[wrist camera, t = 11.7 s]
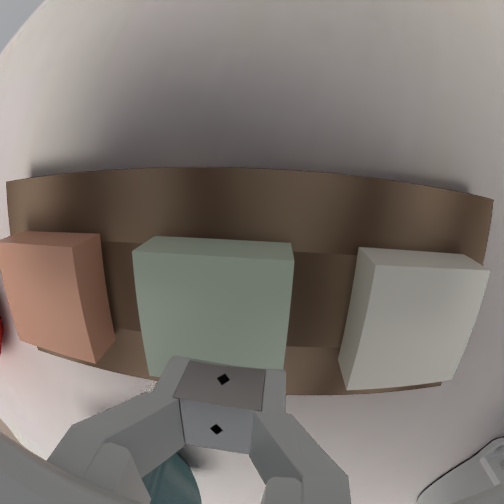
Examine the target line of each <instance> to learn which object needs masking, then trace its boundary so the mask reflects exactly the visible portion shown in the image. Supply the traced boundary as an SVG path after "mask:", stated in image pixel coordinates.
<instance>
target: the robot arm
mask: <svg viewBox="0 0 504 504" xmlns="http://www.w3.org/2000/svg"><path fill="white" fill-rule="evenodd" d="M285 410H286V371H285V370H282V369H267V368H266V371H265V369H262V368H252V367H243V366H235V365H228V364H222V363H216V362H210V361H204V360H199V359H193V358H192V359H191V358H187V357H182V356H177V355H174V356H173V357H171V358H170V360H169V362H168V364H167V366H166V367H165V369H164V371H163V373H162V375H161V376H160V378H159V380H158V382H157V384H156V385H155V387H154V389H153V391H152V393H150V392H144V393H142V394H140V395H138V396H136V397H134V398H132V399H130V400H128V401H125V402H123V403H121V404H119V405H117V406H115V407H112V408H110V409H108V410H106V411H103V412H101V413H99V414H97V415H94V416H92V417H90V418H87V419H85V420H83V421H80V422H78V423H76V424H73V425H72V426H71V427H70V428H69V430H68V431H67V433H66V434H65V435H64V437H63V438H62V440H61V441H60V442H59V444H58V445H57V447H56V448H55V449H54V451H53V452H52V454H51V455H50V457H49V458H48V460H47V461H46V460H44V459H43V458H41V457H39V456H37V455H36V454H34V453H33V452H31V451H29V450H28V449H26V448H25V447H23V446H22V445H20V444H18V443H17V442H16V441H14V440H12V439H11V438H10V437H8V436H7V435H6V434H4V433H3V432H1V431H0V504H150V501H151V497H150V495H149V493H148V491H147V489H146V487H145V485H144V483H143V481H142V479H141V478H142V477H144V476H145V475H147V474H148V473H149V472H151V471H152V470H154V469H155V468H156V467H158V466H159V465H160V464H162V463H163V462H164V461H166V460H167V459H168V458H170V457H171V456H172V455H173V454H175V453H176V452H177V451H179V450H180V449H181V448H182V447H184V446H185V444H188V445H194V446H200V447H206V448H212V449H219V450H224V451H230V452H237V453H243V454H249V456H250V458H251V460H252V462H253V464H254V465H255V467H256V469H257V471H258V473H259V474H260V476H261V478H262V479H263V481H264V483H265V485H266V487H265V491H264V494H263V498H262V501H261V504H351V497H350V489H349V481H348V475H347V474H346V473H345V472H344V471H343V470H342V469H341V468H340V467H339V466H338V465H337V464H336V463H335V462H334V461H333V460H332V459H331V458H330V457H329V456H328V454H327V453H326V452H325V451H324V450H323V449H322V448H321V447H320V446H319V445H318V444H317V442H316V441H315V440H314V439H313V438H312V437H311V436H310V435H309V434H308V433H307V431H306V430H305V429H304V428H303V427H302V426H301V425H300V423H299V422H298V421H297V420H296V419H295V418H294V417H293V415H292V414H285ZM417 503H418V504H504V437H503V438H499V439H496V440H494V441H492V442H491V443H490V444H488V445H487V446H486V447H485V448H483V449H482V450H481V451H480V452H479V453H478V454H476V455H475V456H474V457H472V458H471V459H469V460H468V461H466V462H465V463H463V464H461V465H460V466H458V467H457V468H455V469H454V470H452V471H450V472H449V473H447V474H446V475H445V476H443V477H442V478H440V479H439V480H437V481H436V482H435V483H433V484H432V485H431V486H430V487H428V488H427V489H426V490H425V491H424V492H423V493H422V494H421V495H420V496H419V498H418V500H417Z"/></svg>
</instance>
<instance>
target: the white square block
mask: <svg viewBox="0 0 504 504" xmlns="http://www.w3.org/2000/svg"><path fill="white" fill-rule="evenodd" d="M490 271H491V270H489V269H488V268H486V267H484V266H483V265H481V264H479V263H478V262H476V261H474V260H473V259H471V258H469V257H468V256H466V255H464V254H453V253H439V252H426V251H412V250H397V249H382V248H367V247H359V248H358V255H357V262H356V269H355V275H354V281H353V287H352V293H351V299H350V304H349V310H348V315H347V320H346V325H345V330H344V335H343V339H342V344H341V348H340V353H339V357H338V362H339V365H340V369H341V373H342V376H343V380H344V384H345V387H346V390H365V389H380V388H392V387H403V386H412V385H420V384H428V383H435V382H442V381H448V380H452V378H453V376H454V374H455V372H456V369H457V367H458V365H459V363H460V360H461V358H462V356H463V353H464V351H465V348H466V346H467V343H468V341H469V338H470V335H471V333H472V330H473V327H474V324H475V322H476V319H477V316H478V313H479V310H480V306H481V303H482V300H483V297H484V293H485V290H486V286H487V283H488V279H489V275H490Z"/></svg>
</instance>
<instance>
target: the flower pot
mask: <svg viewBox="0 0 504 504" xmlns="http://www.w3.org/2000/svg"><path fill="white" fill-rule="evenodd" d="M141 479H142V481H143V483H144V485H145V487H146V489H147V491H148V493H149V495H150V497H151V501H150V504H201V497H200V492H199V489H198V486H197V483H196V480H195V478H194V476H193V473H192V471H191V469H190V467H189V466H188V465H187V464H186V463H185V462H184V460H183V459H182V458H181V457H180V456H179V455H178V454H177V452H176V453H175V454H173V455H172V456H171V457H170V458H168V459H167V460H166V461H164V462H163V463H162V464H160V465H159V466H158V467H156V468H155V469H154V470H152V471H151V472H149V473H148V474H147V475H145V476H144V477H142V478H141Z"/></svg>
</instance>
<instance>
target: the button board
mask: <svg viewBox="0 0 504 504" xmlns="http://www.w3.org/2000/svg"><path fill="white" fill-rule="evenodd" d="M6 189H7V205H8V216H9V225H10V234H11V236H12V235H14V234H17V233H19V232H22V231H38V232H67V233H94V234H100V239H101V250H102V259H103V267H104V275H105V282H106V289H107V296H108V302H109V308H110V313H111V319H112V324H113V329H114V334H115V339H116V340H115V341H114V342H113V343H112V345H111V346H110V347H109V348H108V350H107V351H106V352H105V353H104V354H103V356H102V357H101V358H100V359H99V361H98V362H97V363H96V364H95V363H91V362H87V361H83V360H80V359H76V358H73V357H69V356H66V355H63V354H59V353H56V352H53V351H50V350H47V349H44V348H41V347H38V346H37V348H38V350H40V351H43V352H46V353H49V354H52V355H55V356H58V357H62V358H65V359H68V360H71V361H75V362H78V363H82V364H85V365H89V366H93V367H96V368H100V369H104V370H108V371H112V372H117V373H121V374H125V375H130V376H135V377H139V378H144V379H150V380H155V381H158V380H159V378H160V377H155V376H150V375H149V371H148V366H147V361H146V355H145V350H144V344H143V338H142V332H141V326H140V319H139V312H138V304H137V297H136V288H135V279H134V269H133V258H132V251H133V250H134V249H136V248H137V247H139V246H140V245H142V244H143V243H145V242H146V241H148V240H149V239H151V238H152V237H154V236H168V237H189V238H209V239H229V240H248V241H266V242H284V243H291V246H292V251H293V256H294V273H293V284H292V294H291V304H290V314H289V323H288V332H287V341H286V350H285V358H284V366H283V370H285V371H286V395H349V394H368V393H382V392H393V391H403V390H412V389H420V388H427V387H434V386H440V385H441V383H442V382H435V383H428V384H420V385H412V386H403V387H392V388H380V389H365V390H346V387H345V384H344V380H343V376H342V373H341V369H340V365H339V362H338V357H339V353H340V348H341V344H342V339H343V335H344V330H345V325H346V320H347V315H348V310H349V304H350V299H351V293H352V287H353V281H354V275H355V269H356V262H357V255H358V248H359V247H367V248H382V249H397V250H412V251H426V252H439V253H453V254H464V255H466V256H468V257H469V258H471V259H473V260H474V261H476V262H478V263H479V264H481V265H483V260H484V256H485V251H486V246H487V241H488V235H489V230H490V223H491V217H492V209H493V201H494V200H493V199H489V198H485V197H481V196H477V195H473V194H469V193H464V192H459V191H454V190H448V189H443V188H437V187H432V186H426V185H420V184H413V183H407V182H400V181H393V180H386V179H378V178H370V177H362V176H353V175H344V174H334V173H323V172H310V171H297V170H281V169H261V168H232V167H164V168H135V169H116V170H101V171H88V172H77V173H66V174H57V175H48V176H40V177H32V178H26V179H20V180H14V181H8V182H6Z"/></svg>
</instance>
